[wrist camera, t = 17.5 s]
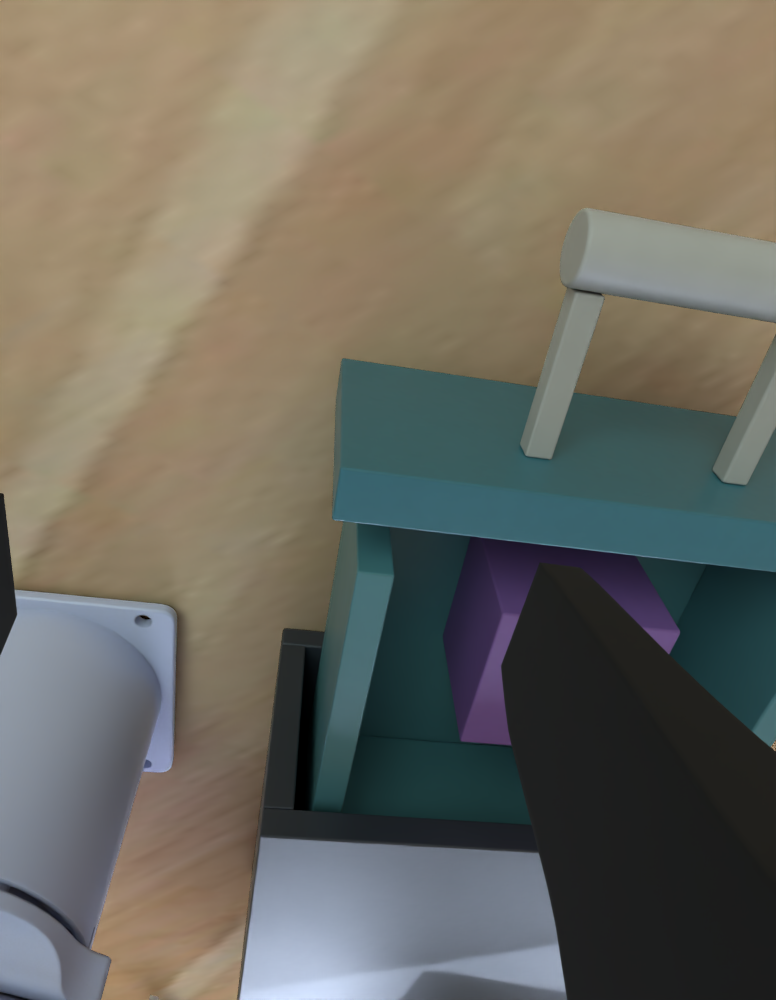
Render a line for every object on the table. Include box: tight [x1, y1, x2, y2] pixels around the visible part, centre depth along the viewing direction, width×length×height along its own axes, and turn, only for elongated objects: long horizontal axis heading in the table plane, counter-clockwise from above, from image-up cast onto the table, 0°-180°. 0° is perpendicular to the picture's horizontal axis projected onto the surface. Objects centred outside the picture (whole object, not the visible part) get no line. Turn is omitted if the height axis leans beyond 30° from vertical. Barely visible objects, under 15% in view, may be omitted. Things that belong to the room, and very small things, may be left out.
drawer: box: [304, 208, 776, 825], centre depth 19 cm, size 18×13×6 cm
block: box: [443, 536, 680, 745], centre depth 19 cm, size 4×4×4 cm
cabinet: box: [237, 628, 567, 1000], centre depth 25 cm, size 15×14×8 cm
